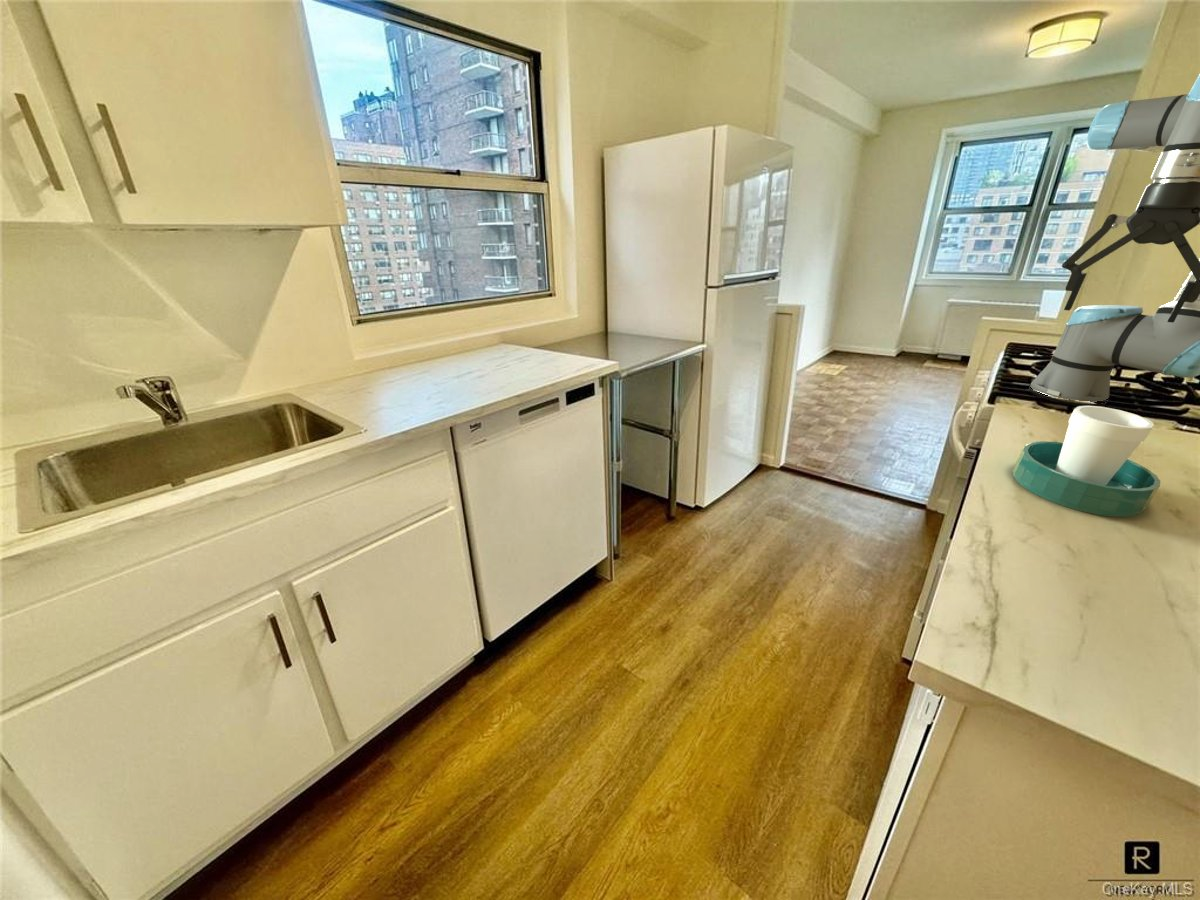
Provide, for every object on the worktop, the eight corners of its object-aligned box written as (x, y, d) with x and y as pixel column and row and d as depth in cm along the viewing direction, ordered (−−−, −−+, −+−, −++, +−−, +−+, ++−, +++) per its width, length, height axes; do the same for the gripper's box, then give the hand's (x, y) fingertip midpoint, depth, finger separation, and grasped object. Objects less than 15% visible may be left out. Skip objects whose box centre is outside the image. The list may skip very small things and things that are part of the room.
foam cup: (1030, 477, 87) (1062, 410, 81) (1059, 467, 90) (1092, 402, 84) (1095, 504, 79) (1136, 432, 73) (1125, 492, 82) (1166, 423, 76)
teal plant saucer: (1023, 456, 96) (1034, 433, 93) (1147, 490, 84) (1162, 465, 82) (1002, 486, 85) (1013, 461, 83) (1140, 530, 74) (1157, 503, 72)
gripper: (1076, 182, 84) (1026, 307, 94) (1311, 178, 68) (1220, 330, 77) (1082, 184, 88) (1034, 302, 98) (1304, 180, 72) (1219, 323, 82)
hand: (1116, 315), depth 88 cm, fingers open, 13 cm apart
